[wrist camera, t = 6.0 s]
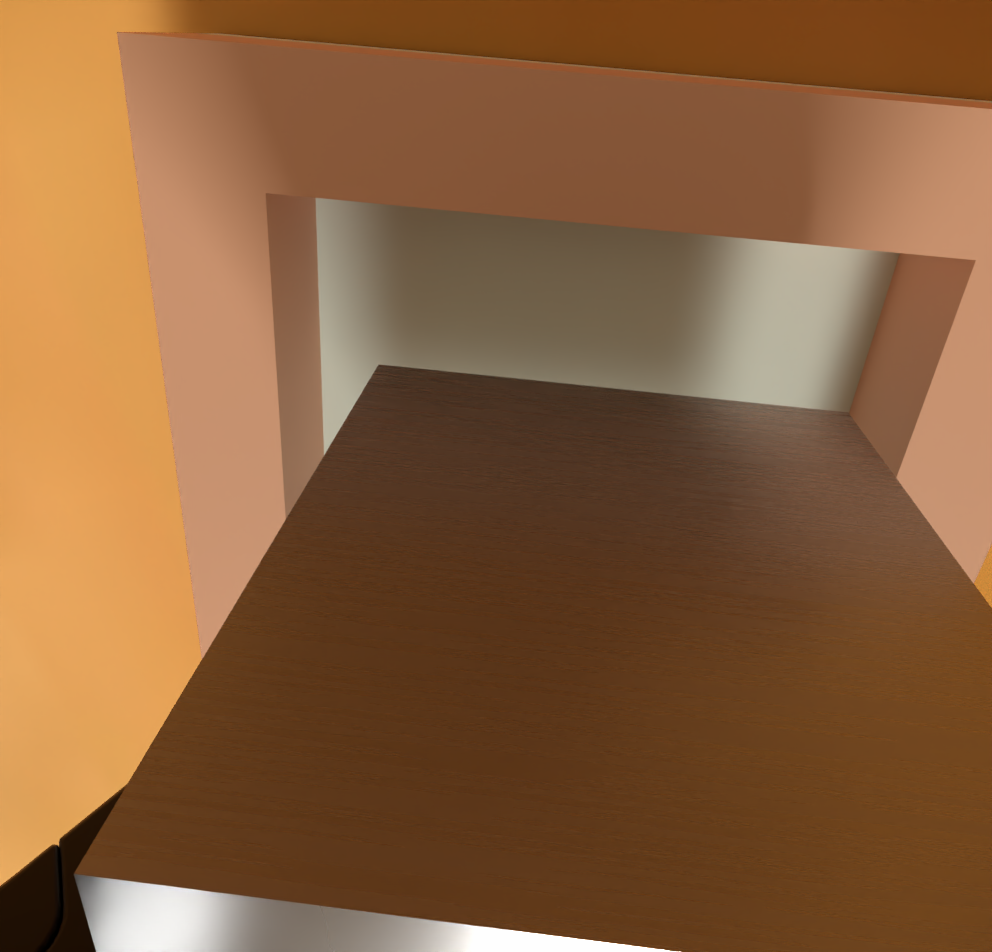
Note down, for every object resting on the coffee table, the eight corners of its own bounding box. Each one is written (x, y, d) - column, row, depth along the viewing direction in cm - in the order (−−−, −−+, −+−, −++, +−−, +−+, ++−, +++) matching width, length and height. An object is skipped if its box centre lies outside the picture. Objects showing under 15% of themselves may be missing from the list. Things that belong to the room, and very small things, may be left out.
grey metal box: (848, 412, 8) (1300, 1030, 3) (725, 798, 11) (856, 1454, 6) (378, 364, 9) (73, 874, 3) (377, 755, 12) (211, 1355, 6)
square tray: (1039, 105, 11) (1181, 126, 8) (801, 749, 16) (842, 874, 14) (218, 33, 11) (117, 31, 8) (272, 686, 17) (220, 798, 14)
